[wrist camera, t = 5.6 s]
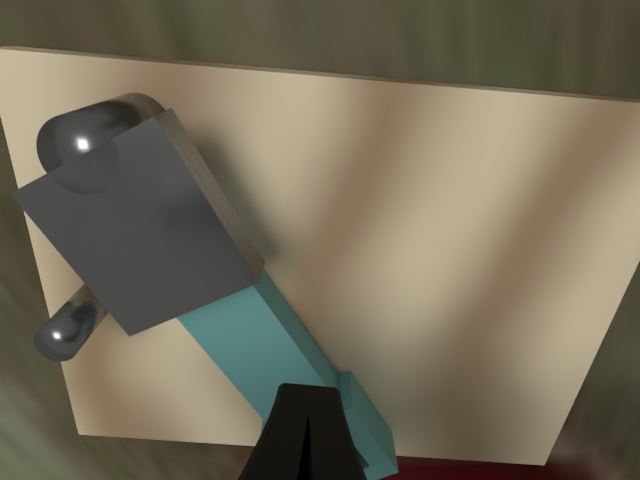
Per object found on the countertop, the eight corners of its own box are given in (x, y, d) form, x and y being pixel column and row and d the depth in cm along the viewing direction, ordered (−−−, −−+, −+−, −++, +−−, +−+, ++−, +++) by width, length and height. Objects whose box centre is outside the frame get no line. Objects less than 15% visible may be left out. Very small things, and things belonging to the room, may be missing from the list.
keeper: (280, 216, 15) (262, 287, 11) (116, 288, 16) (45, 376, 12) (192, 59, 13) (128, 74, 9) (12, 159, 14) (-117, 213, 10)
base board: (678, 102, 13) (709, 109, 12) (532, 441, 20) (544, 465, 19) (13, 46, 13) (-17, 47, 12) (92, 411, 19) (78, 434, 18)
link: (392, 432, 18) (398, 472, 16) (312, 461, 19) (310, 502, 17) (210, 166, 13) (193, 185, 11) (113, 222, 14) (84, 247, 12)
